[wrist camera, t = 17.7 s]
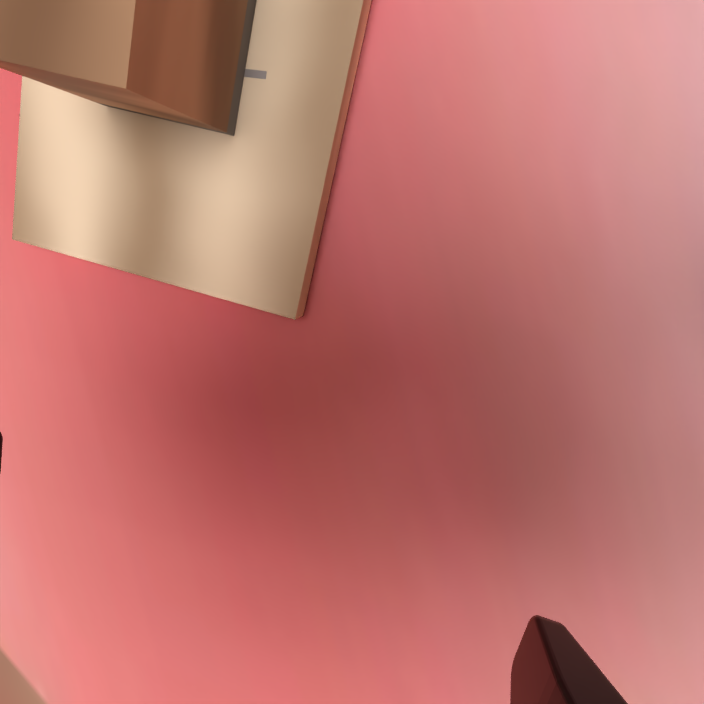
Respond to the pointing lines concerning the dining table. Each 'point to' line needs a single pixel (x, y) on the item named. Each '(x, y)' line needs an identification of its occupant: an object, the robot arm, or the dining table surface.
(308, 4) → the board
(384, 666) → the dining table surface
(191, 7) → the block
